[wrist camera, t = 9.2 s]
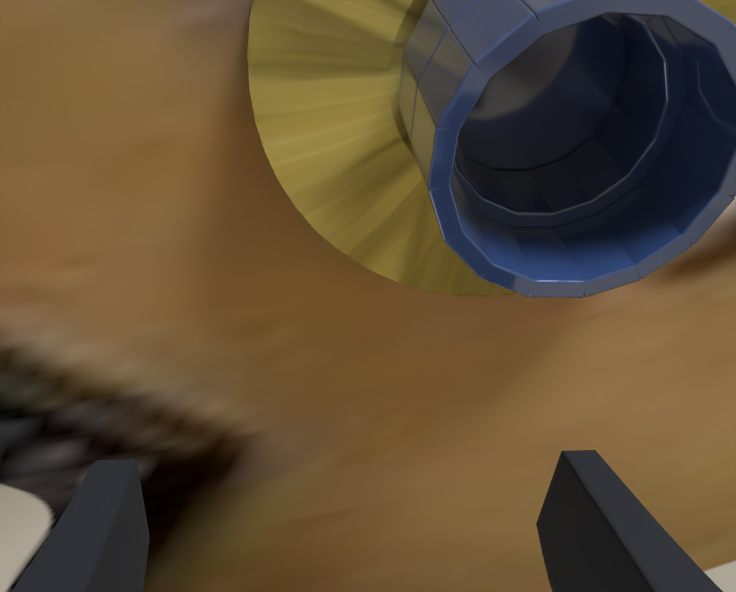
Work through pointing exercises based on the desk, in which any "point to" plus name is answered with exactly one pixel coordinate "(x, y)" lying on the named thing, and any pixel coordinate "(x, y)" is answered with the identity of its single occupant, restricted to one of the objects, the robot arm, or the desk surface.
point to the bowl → (571, 135)
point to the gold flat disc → (354, 133)
